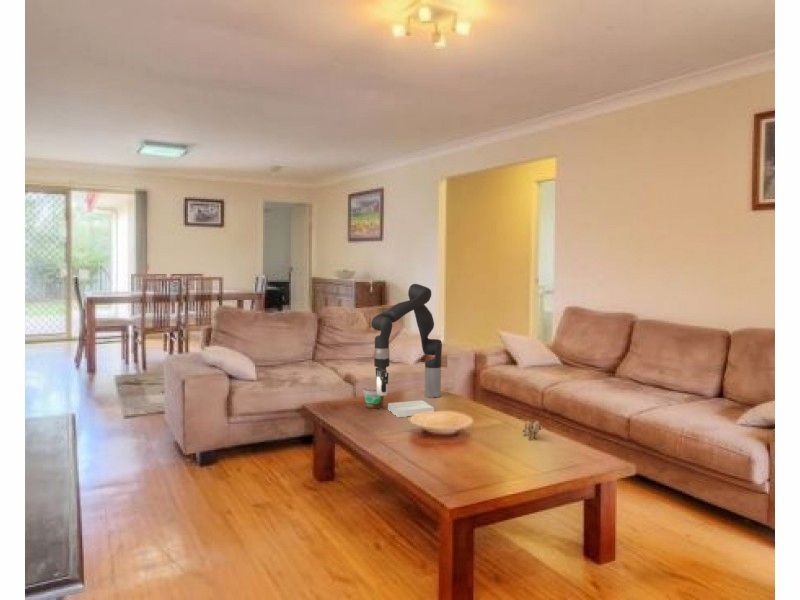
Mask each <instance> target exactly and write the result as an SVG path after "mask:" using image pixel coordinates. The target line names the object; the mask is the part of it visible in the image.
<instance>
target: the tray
mask: <svg viewBox="0 0 800 600" xmlns="http://www.w3.org/2000/svg"><path fill="white" fill-rule="evenodd" d="M387 410H388V411H389V412H390V411H391V412H392V413H391V412H390V413H391V414H392V415H393V416H395V415H396V416H397V417H403V418H408V417H407V416H411V415H413V414H415V413H419V412H425V411H434V412H435V407H434V406H432V404H431V405H430V404H429V403H428V402H426V401H424V400H422V399H420V400H411V401H400V402H388V404H387ZM396 416H395V417H396ZM397 417H396V418H397Z"/></svg>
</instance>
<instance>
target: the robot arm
mask: <svg viewBox="0 0 800 600" xmlns="http://www.w3.org/2000/svg"><path fill="white" fill-rule="evenodd" d="M407 291H408V293H407V294H408V295H407V296H408V299H409V300H404V301H402V302H397V303H396V304H395V305H393V306H391V307H390V308H389V309H387V310H386V311H383V312H380V313H379V314H377V315H375V316H374V317H373V318H372V320H371V325H370V326H371V328H373V330H375V331H379V332H380V334H379V335H376V336H375V338H374V350H373V351H374V352H373V354H374V355H373V360H374V362H373V363H374V365H373V366H374V367H375V380H376V381H377V376H380V380H381V392H386V384H387V385H388V384H389V375H390V374H389V372H388V370H387V368H388V367H390V337H391V333H392V330H393V329H392V328H393V323H396V322H398V321H399V320H401V319H402V318H403V317H404V316H405V315H407V314H408V313H411V312H412V311H414V317H415V319H416V325H417V328H418V332H419V335H420V342H421V348H422V352H423V353H424V354H425V355H427V356H434V358H433V359H429V360H426V361H425V362H424V397H426V398H429V397H430V399H431V398H433V399H434V397H437V398H440V397H441V393H442V390H441V389H442V388H441V387H442V386H441V385H442V354H443V353H442V351H443V343H442V340H441V339H437V338H436V339H435V338H428V337H429V335H430V333H432V331H433V329H434V326H435V321H434V317H433V314H432V312H431V310H429V308H428V307H427V306H426V304H427V303H428V302H429V301H430V300H431V298H432V289H431V288H429V287H426V286H424V285H421V284H418V283H413V284H411V285H410V286H409V288H408V290H407ZM381 377H383V378H381ZM384 380H385V382H384Z"/></svg>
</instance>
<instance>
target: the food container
mask: <svg viewBox="0 0 800 600" xmlns="http://www.w3.org/2000/svg"><path fill="white" fill-rule="evenodd" d="M362 394H363V395H364V402H365V403H364V405H365V408H366V410H370V409H377V410H381V409H380V408H382V409H383V408H384V407H383V405H384V399H385V398H384V397H385V396H379V395H377V389H366V387H364V388H363V390H362Z"/></svg>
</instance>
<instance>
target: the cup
mask: <svg viewBox="0 0 800 600" xmlns="http://www.w3.org/2000/svg"><path fill="white" fill-rule="evenodd" d="M381 378H383V377H381ZM384 382H385V380H384ZM376 390H377V395H379V396H384V397H385V396H387V395H388V384H386V392H381V380H380V376H377V380H376Z"/></svg>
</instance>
